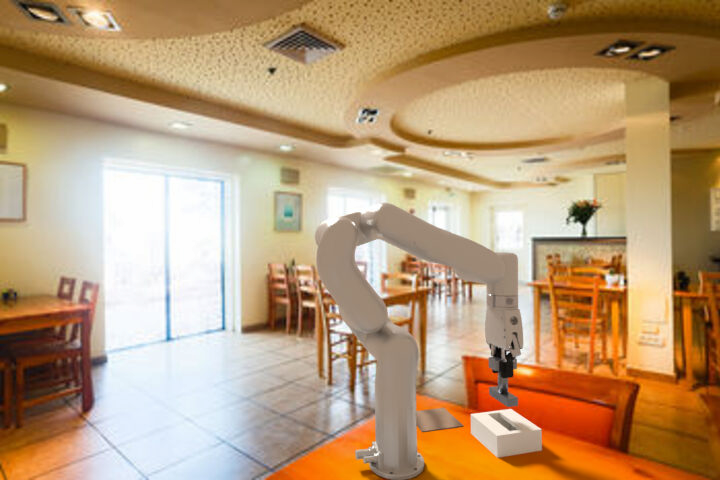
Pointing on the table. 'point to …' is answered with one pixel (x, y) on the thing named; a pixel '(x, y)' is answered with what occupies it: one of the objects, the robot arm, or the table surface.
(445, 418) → the grey flat square plate
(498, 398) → the t key
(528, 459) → the table surface
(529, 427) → the block
